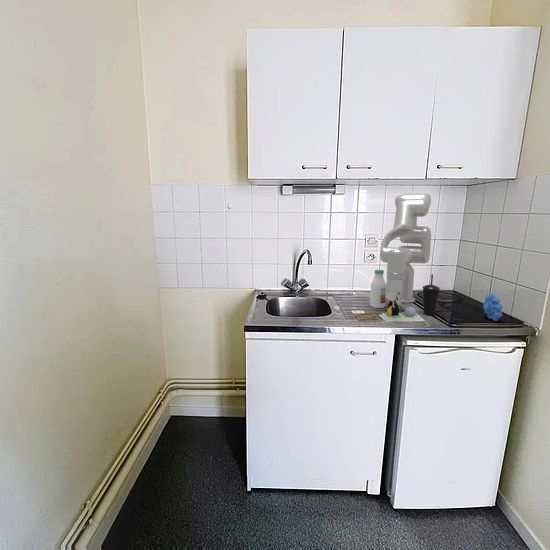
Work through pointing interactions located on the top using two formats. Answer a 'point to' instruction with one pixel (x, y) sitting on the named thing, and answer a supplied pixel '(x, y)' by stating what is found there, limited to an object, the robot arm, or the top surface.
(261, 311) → the top surface
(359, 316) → the coaster
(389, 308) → the ochre ball
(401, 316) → the rack
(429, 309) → the drinking cup
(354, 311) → the tile
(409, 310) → the slate ball
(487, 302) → the grapes
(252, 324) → the top surface
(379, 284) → the milk bottle
